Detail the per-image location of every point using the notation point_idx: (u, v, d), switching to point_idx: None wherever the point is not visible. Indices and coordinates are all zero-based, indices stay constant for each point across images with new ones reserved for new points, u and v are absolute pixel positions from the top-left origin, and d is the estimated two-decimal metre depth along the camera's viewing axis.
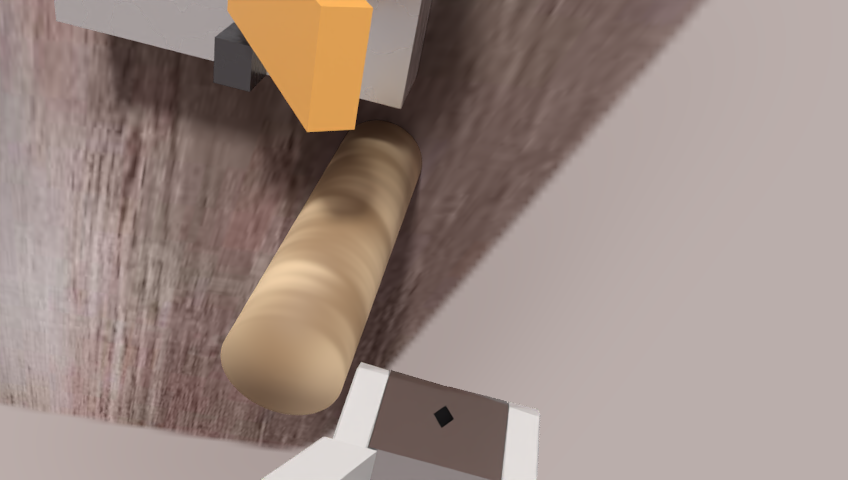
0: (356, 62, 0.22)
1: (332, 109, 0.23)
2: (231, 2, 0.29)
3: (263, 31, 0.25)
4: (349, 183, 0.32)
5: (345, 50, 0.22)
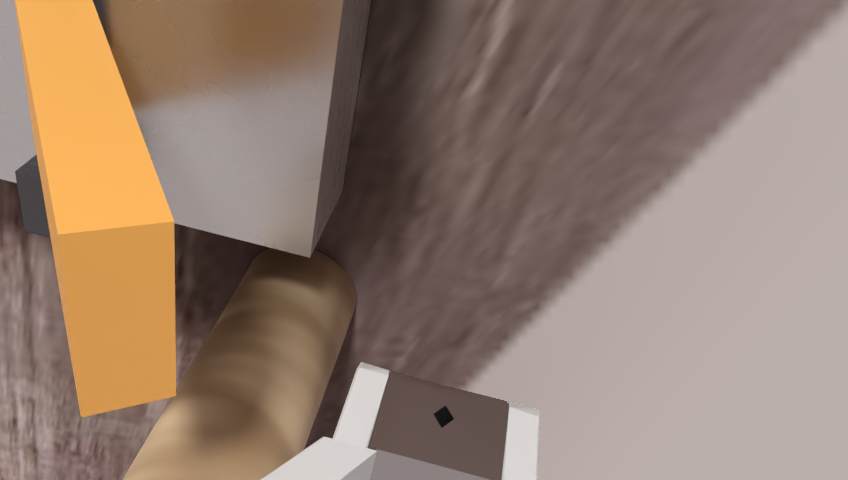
0: (157, 306, 0.12)
1: (124, 378, 0.13)
2: None
3: (45, 199, 0.15)
4: (233, 369, 0.22)
5: (130, 293, 0.12)
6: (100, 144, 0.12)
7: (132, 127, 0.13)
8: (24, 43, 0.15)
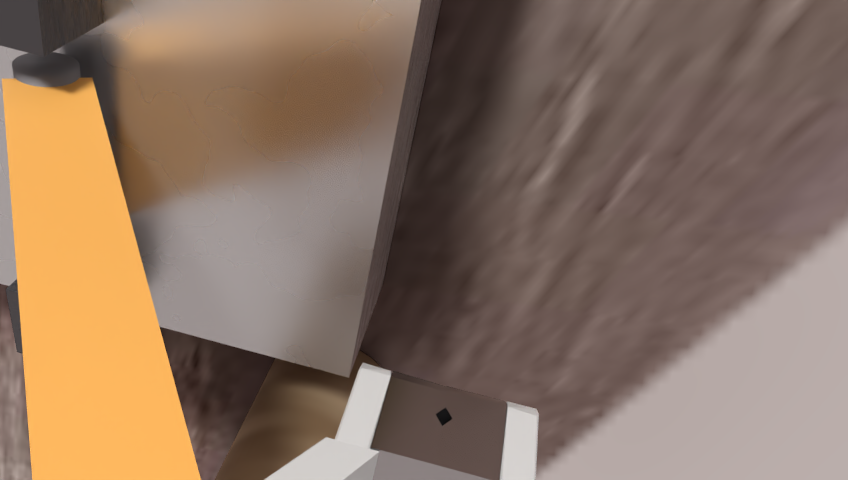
0: None
1: None
2: None
3: None
4: None
5: None
6: (102, 341, 0.09)
7: (144, 307, 0.10)
8: (10, 173, 0.12)
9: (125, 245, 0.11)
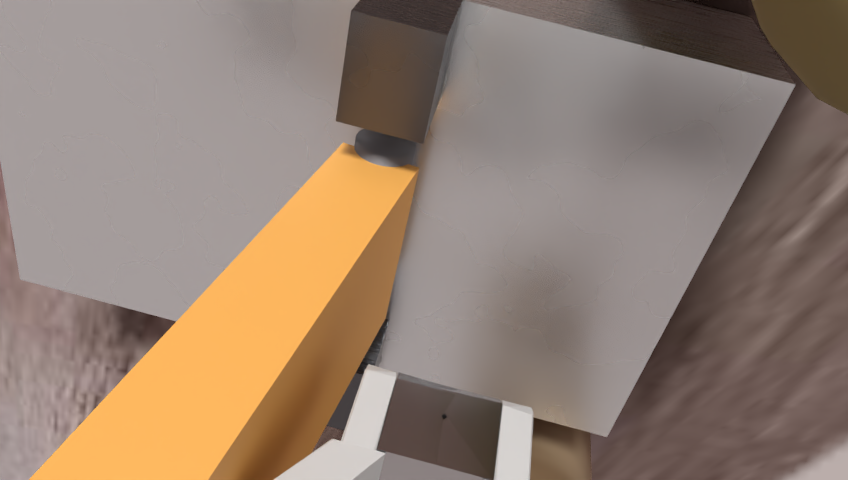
0: None
1: None
2: None
3: None
4: None
5: None
6: (154, 446, 0.08)
7: (228, 432, 0.08)
8: (261, 232, 0.11)
9: (279, 352, 0.10)
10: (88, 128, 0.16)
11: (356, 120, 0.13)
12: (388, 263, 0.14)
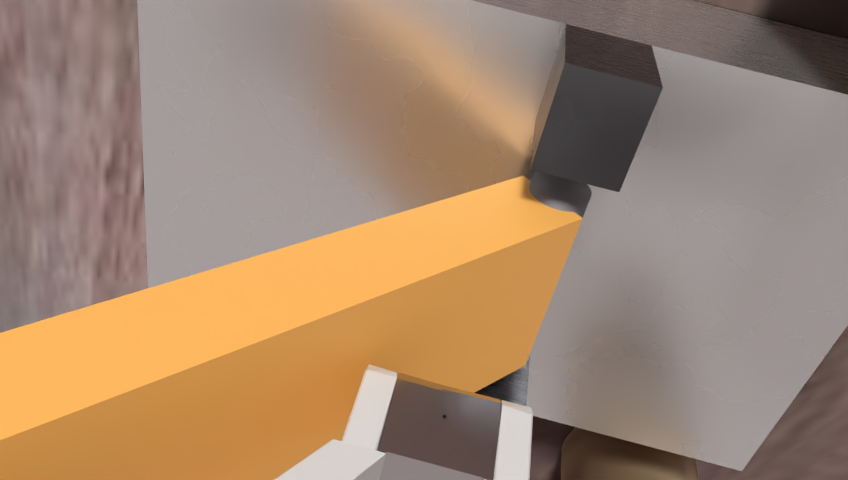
0: None
1: None
2: None
3: None
4: None
5: None
6: (179, 327, 0.10)
7: (238, 342, 0.09)
8: (388, 217, 0.12)
9: (325, 306, 0.10)
10: (242, 167, 0.16)
11: (552, 169, 0.13)
12: (524, 302, 0.14)
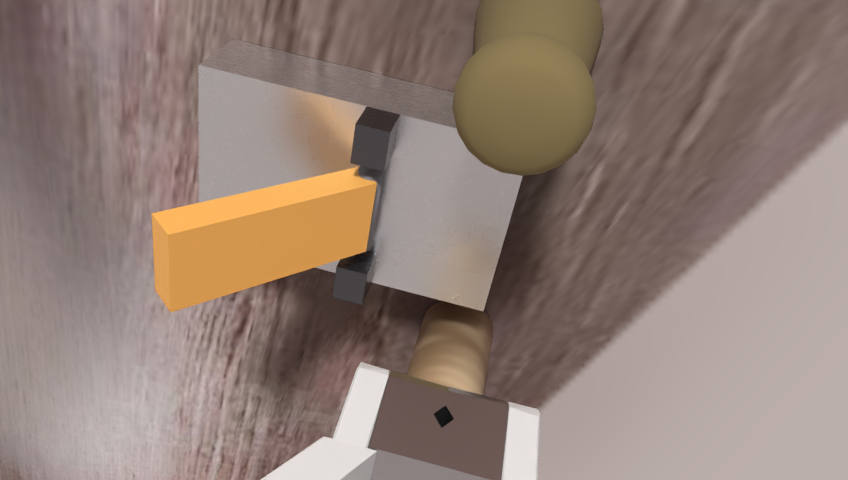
0: (166, 265, 0.29)
1: (161, 286, 0.30)
2: None
3: None
4: (441, 375, 0.38)
5: (162, 252, 0.29)
6: (217, 211, 0.30)
7: (236, 216, 0.30)
8: (295, 181, 0.33)
9: (266, 208, 0.31)
10: (242, 165, 0.37)
11: (358, 162, 0.33)
12: (355, 218, 0.34)
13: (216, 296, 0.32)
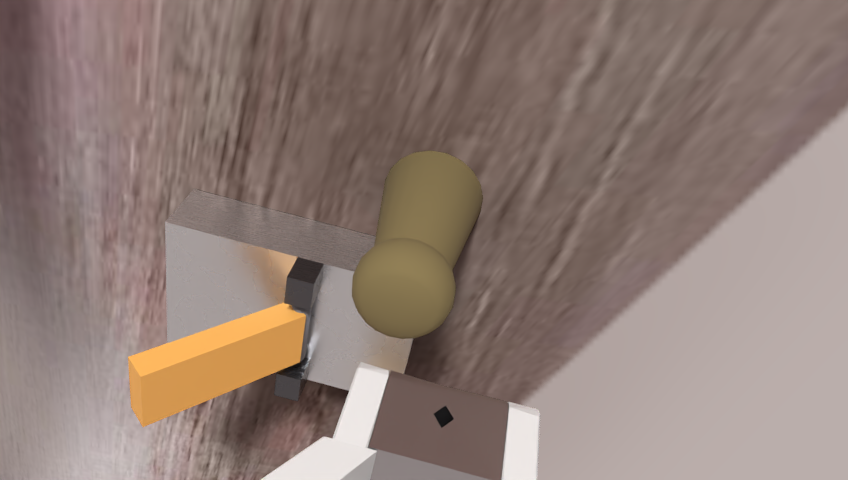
0: (139, 395, 0.39)
1: (136, 407, 0.40)
2: None
3: None
4: None
5: (135, 385, 0.39)
6: (178, 352, 0.39)
7: (193, 355, 0.39)
8: (240, 318, 0.42)
9: (216, 346, 0.40)
10: (201, 292, 0.46)
11: (290, 303, 0.42)
12: (289, 341, 0.44)
13: (178, 411, 0.41)
